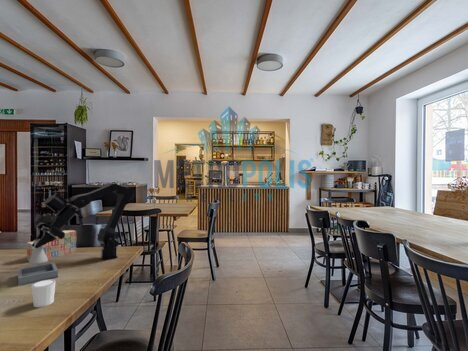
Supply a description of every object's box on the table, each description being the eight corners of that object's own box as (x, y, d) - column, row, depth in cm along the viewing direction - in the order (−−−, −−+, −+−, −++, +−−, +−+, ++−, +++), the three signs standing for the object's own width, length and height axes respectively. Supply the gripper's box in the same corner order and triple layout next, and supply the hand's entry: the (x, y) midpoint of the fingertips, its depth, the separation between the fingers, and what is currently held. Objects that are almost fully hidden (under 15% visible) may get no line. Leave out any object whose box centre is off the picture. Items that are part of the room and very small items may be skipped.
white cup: (39, 298, 93) (39, 279, 93) (60, 297, 93) (59, 278, 93) (26, 308, 86) (26, 287, 86) (47, 307, 86) (47, 287, 86)
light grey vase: (30, 266, 107) (29, 242, 107) (25, 263, 112) (25, 240, 112) (50, 262, 113) (50, 239, 113) (45, 258, 117) (45, 236, 117)
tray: (54, 268, 122) (54, 262, 122) (57, 277, 112) (57, 270, 112) (17, 275, 113) (17, 269, 113) (18, 285, 103) (18, 278, 103)
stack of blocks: (31, 262, 130) (31, 238, 130) (26, 260, 134) (26, 236, 134) (76, 252, 148) (76, 230, 148) (71, 250, 151) (71, 229, 151)
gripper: (40, 205, 121) (10, 233, 112) (56, 208, 110) (24, 240, 101) (60, 219, 127) (33, 247, 118) (76, 224, 116) (48, 254, 107)
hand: (34, 247), depth 111 cm, fingers closed on light grey vase, 3 cm apart
